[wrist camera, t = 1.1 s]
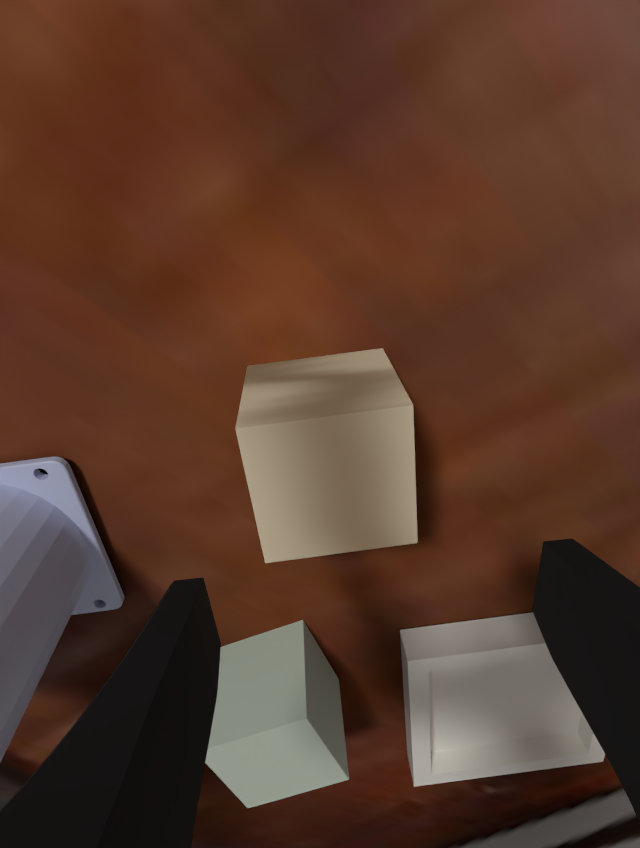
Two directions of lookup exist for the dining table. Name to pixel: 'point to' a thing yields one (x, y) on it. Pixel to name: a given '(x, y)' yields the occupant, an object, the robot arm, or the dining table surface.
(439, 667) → the tray
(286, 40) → the dining table surface
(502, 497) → the dining table surface
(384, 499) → the maple cube
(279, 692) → the sage cube
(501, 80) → the dining table surface
